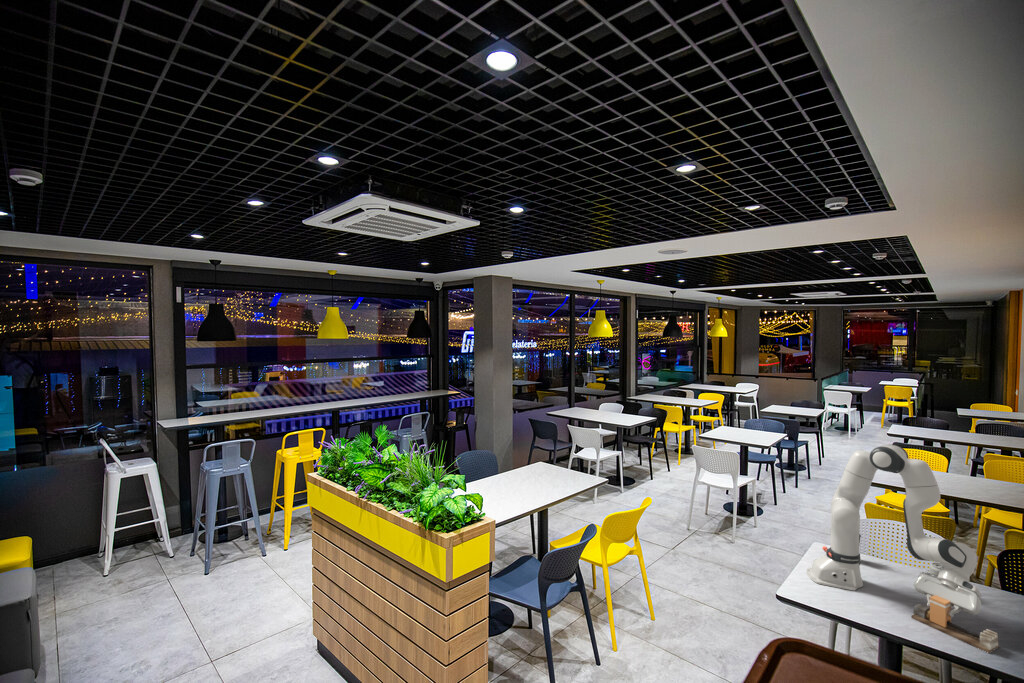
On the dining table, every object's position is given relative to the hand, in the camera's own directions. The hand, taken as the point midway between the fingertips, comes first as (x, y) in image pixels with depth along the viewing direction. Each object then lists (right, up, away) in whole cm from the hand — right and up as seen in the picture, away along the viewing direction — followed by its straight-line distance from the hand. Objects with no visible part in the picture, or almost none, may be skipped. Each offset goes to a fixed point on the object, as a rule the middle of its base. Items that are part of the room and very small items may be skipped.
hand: (939, 611), depth 189 cm
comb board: (+2, -6, -3) cm, 7 cm away
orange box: (+1, -5, 0) cm, 5 cm away
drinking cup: (+5, -5, +56) cm, 56 cm away
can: (+24, -6, +26) cm, 35 cm away
